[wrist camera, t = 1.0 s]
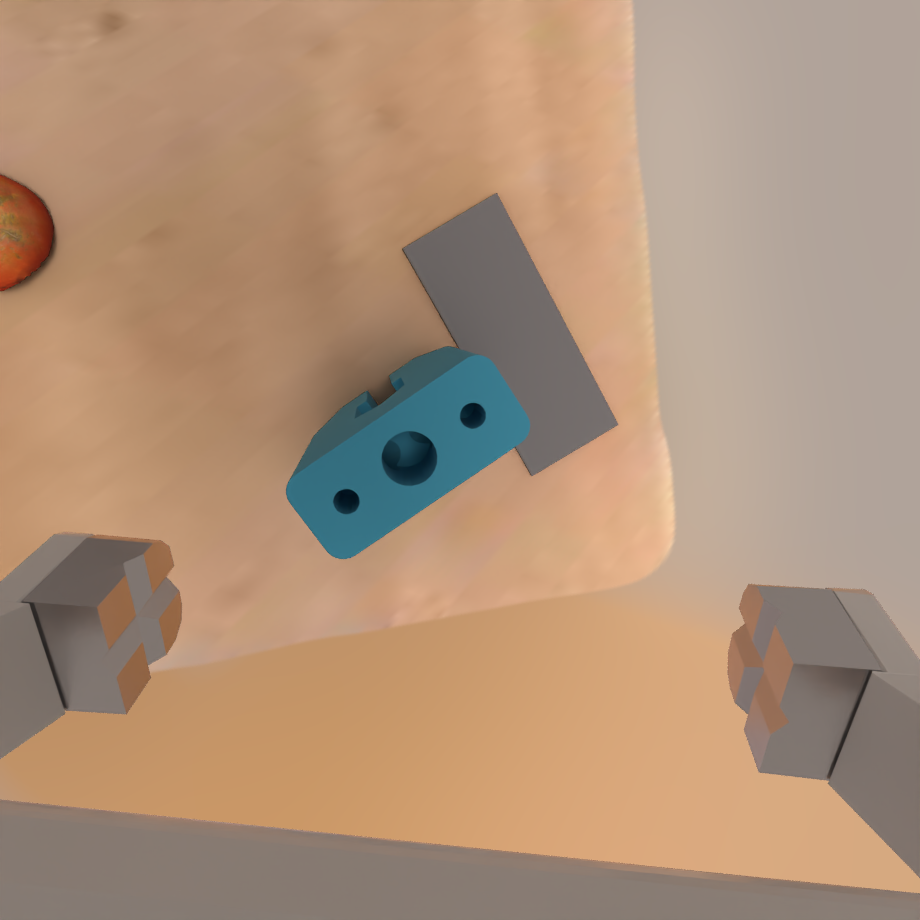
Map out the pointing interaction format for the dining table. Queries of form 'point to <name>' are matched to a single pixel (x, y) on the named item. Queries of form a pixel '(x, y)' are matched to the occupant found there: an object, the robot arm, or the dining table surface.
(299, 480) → the block
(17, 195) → the tomato
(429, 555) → the dining table surface
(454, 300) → the mat
